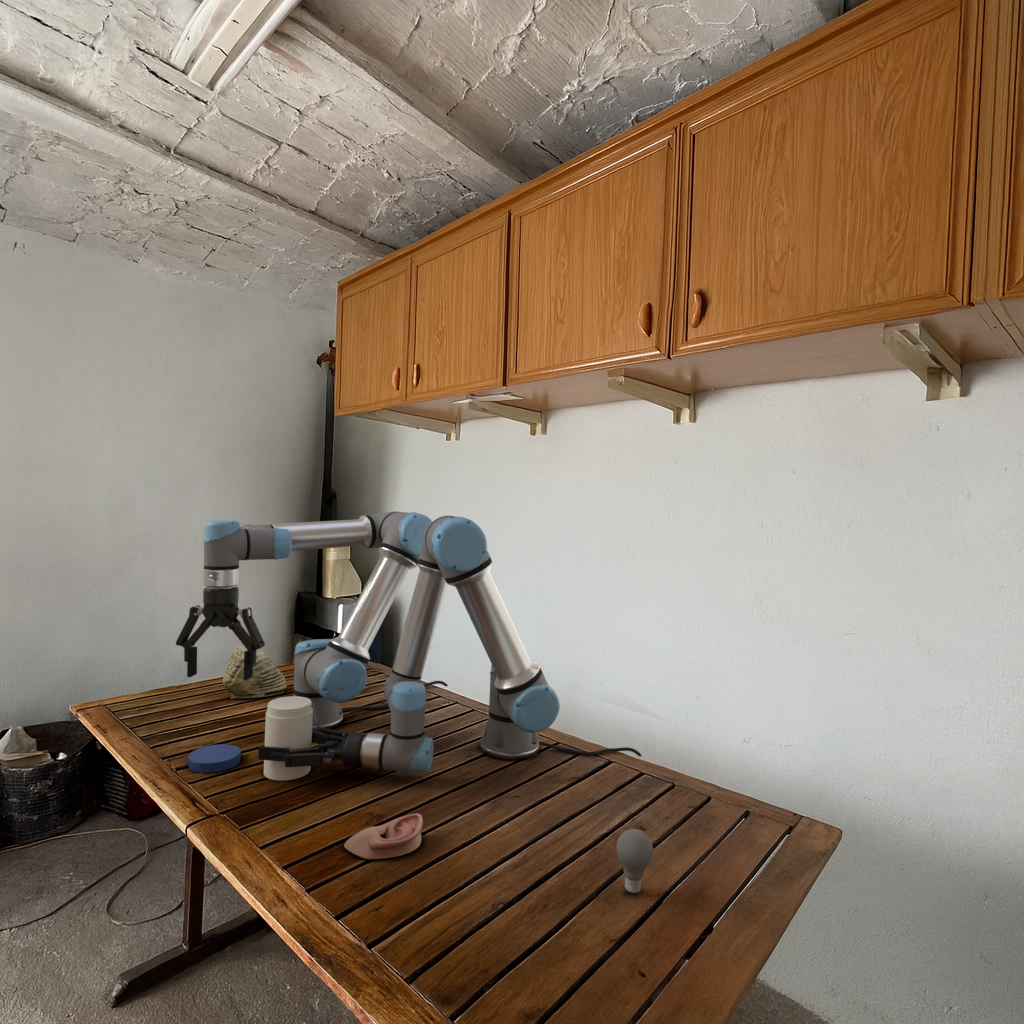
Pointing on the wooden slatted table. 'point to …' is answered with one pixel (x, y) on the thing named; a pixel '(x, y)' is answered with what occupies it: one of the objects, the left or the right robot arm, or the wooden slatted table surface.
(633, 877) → the light bulb
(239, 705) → the wooden slatted table surface
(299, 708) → the jar
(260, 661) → the fossil
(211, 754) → the lid
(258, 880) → the wooden slatted table surface
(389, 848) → the anatomical model
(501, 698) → the right robot arm
